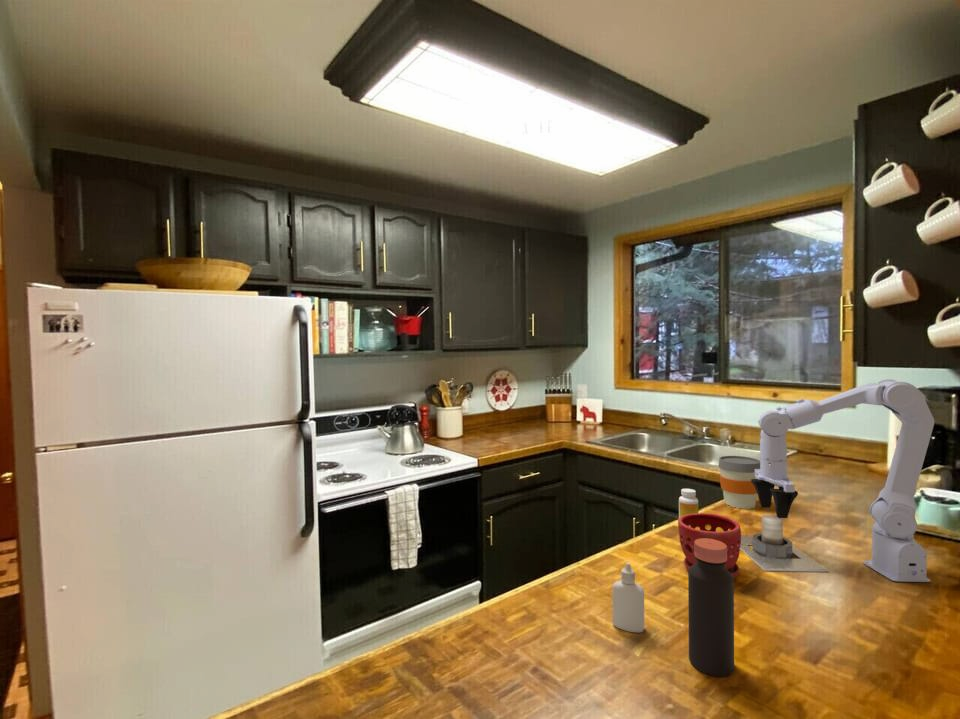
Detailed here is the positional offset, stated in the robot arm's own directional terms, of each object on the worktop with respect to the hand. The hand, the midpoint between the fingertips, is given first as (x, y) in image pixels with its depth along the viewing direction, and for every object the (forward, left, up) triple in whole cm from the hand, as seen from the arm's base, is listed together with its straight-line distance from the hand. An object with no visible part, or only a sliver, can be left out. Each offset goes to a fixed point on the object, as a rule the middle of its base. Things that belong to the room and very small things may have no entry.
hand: (773, 512), depth 120 cm
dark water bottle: (-44, +33, -11) cm, 56 cm away
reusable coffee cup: (+38, -9, -11) cm, 40 cm away
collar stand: (0, 0, -10) cm, 10 cm away
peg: (0, 0, -10) cm, 10 cm away
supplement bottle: (+21, +13, -11) cm, 27 cm away
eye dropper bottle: (-34, +44, -11) cm, 57 cm away
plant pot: (-11, +20, -11) cm, 25 cm away
